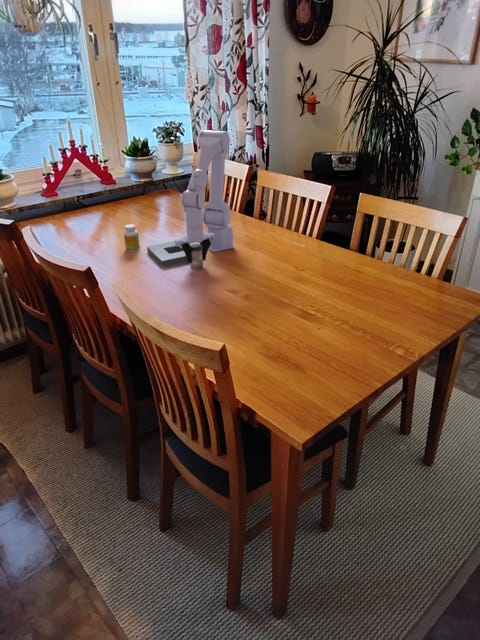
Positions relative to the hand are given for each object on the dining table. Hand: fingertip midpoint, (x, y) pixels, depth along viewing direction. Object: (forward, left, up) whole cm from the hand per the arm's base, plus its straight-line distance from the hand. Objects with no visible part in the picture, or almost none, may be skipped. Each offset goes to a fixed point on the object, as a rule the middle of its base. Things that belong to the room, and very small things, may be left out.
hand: (196, 260), depth 173 cm
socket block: (+3, -14, -2) cm, 15 cm away
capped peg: (0, 0, -2) cm, 2 cm away
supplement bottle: (+15, -28, -3) cm, 32 cm away
